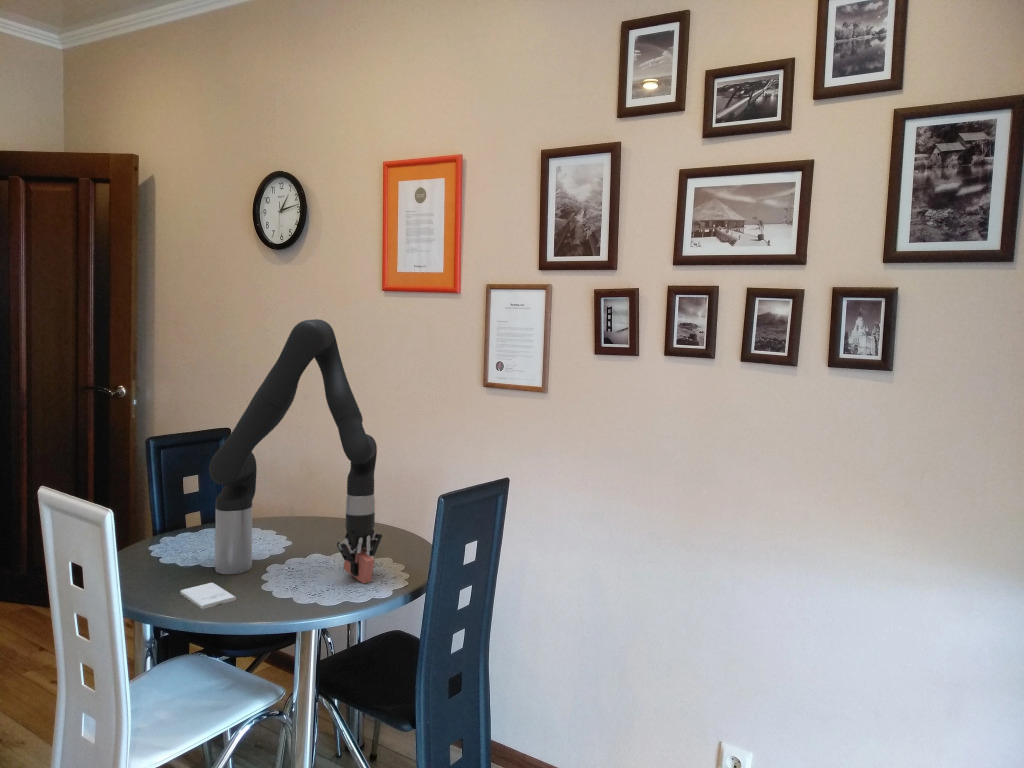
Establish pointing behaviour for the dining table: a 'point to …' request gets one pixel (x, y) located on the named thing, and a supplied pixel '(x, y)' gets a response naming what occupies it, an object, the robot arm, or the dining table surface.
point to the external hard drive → (207, 595)
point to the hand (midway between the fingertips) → (359, 573)
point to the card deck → (362, 567)
